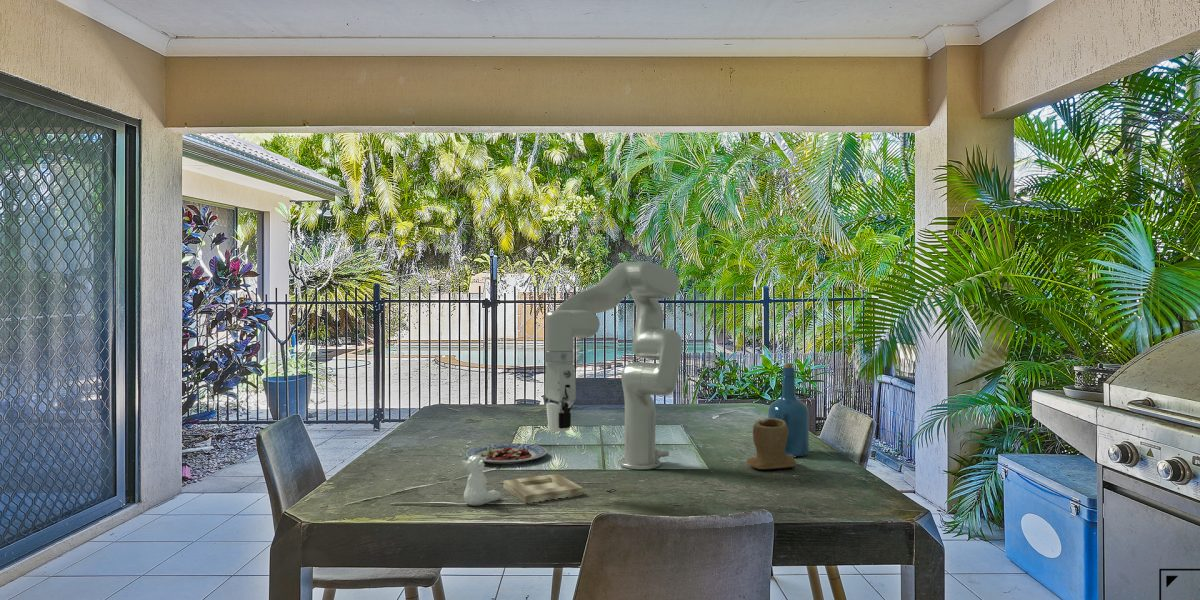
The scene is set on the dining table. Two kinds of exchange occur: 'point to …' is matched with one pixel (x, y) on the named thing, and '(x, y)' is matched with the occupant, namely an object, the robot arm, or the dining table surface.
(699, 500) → the dining table surface
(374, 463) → the dining table surface
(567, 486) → the coaster board
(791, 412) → the wine bottle
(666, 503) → the dining table surface
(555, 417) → the white cup
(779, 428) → the stone cup
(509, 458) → the ceramic plate
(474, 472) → the sitting furry creature
